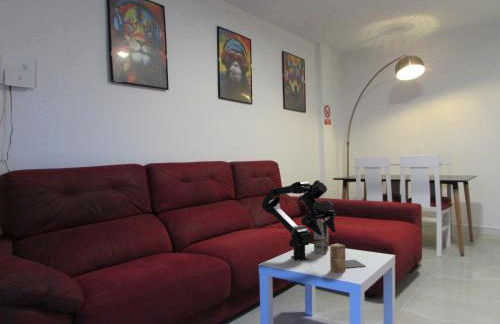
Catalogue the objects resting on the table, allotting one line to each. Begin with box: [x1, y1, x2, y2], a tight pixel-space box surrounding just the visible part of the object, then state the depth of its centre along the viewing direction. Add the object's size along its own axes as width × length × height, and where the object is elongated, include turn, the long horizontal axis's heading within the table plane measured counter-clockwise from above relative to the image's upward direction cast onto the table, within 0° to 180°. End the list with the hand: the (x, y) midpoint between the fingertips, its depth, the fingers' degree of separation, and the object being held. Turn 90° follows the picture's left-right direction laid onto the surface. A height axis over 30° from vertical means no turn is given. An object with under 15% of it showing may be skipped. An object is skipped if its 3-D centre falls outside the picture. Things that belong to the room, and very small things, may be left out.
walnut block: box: [329, 243, 347, 274], centre depth 154 cm, size 4×4×11 cm
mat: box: [345, 259, 366, 269], centre depth 163 cm, size 10×10×1 cm
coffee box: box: [313, 219, 330, 255], centre depth 185 cm, size 9×6×16 cm
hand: (328, 233), depth 159 cm, fingers open, 9 cm apart
